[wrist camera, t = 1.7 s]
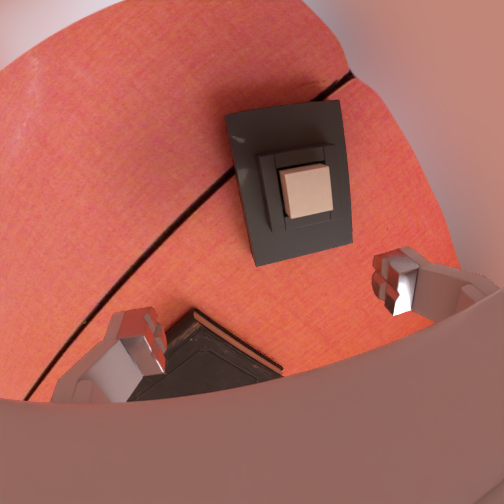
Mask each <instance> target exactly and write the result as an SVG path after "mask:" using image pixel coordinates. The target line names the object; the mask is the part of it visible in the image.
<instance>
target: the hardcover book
mask: <svg viewBox="0 0 504 504" xmlns="http://www.w3.org/2000/svg"><path fill="white" fill-rule="evenodd" d="M165 335H166V340H167V350H166V351H165V353H164V354H163V355H164V357H165V359H166V362H165V372H164V373H162V374H155V375H149V376H142V377H143V378H142V379H141V381H140V382H139V384H138V385H137V387H136V388H135V390H134V391H133V392H132V394H131V395H130V397H129V398H128V400H127V401H126V402H135V401H147V400H158V399H167V398H176V397H184V396H191V395H198V394H204V393H211V392H217V391H222V390H228V389H233V388H238V387H243V386H248V385H253V384H257V383H262V382H266V381H270V380H274V379H278V378H282V377H284V376H282V372H281V371H282V370H283V368H282V367H281V366H279V365H277V364H276V363H274V362H273V361H271V360H270V359H268V358H267V357H265V356H263V355H262V354H260V353H259V352H257V351H256V350H254V349H253V348H251V347H250V346H248V345H247V344H245V343H244V342H242V341H241V340H240V339H238V338H237V337H235V336H234V335H232V334H231V333H229V332H228V331H226V330H225V329H224V328H222V327H221V326H219V325H218V324H217V323H215V322H214V321H212V320H211V319H210V318H208V317H207V316H205V315H204V314H203V313H201V312H200V311H199V310H197V309H193V310H191V311H190V312H189V313H188V314H187V315H186V316H185V317H184V318H182V319H181V320H180V321H179V322H178V323H177V324H176V325H175V326H173V327H172V328H171V329H170V330H169V331H168V332H167V333H166V334H165Z"/></svg>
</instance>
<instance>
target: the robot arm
mask: <svg viewBox="0 0 504 504" xmlns="http://www.w3.org/2000/svg"><path fill="white" fill-rule="evenodd" d="M372 266H373V267H374V269H375V272H374V273H373V275H372V287H373V291H374V293H375V295H376V296H377V297H378V299H380V300H383V301H385V307H386V308H387V309H388V310H389V312H390V313H391V314H392V315H393V316H395V315H398V314H400V313H403V312H406V311H409V310H411V311H413V312H415V313H417V314H419V315H422V316H424V317H426V318H428V319H430V320H432V321H434V322H436V323H435V324H433V325H431V326H429V327H427V328H424V329H422V330H420V331H418V332H415V333H413V334H411V335H408V336H406V337H404V338H401V339H399V340H396V341H394V342H391V343H389V344H386V345H383V346H381V347H378V348H376V349H373V350H370V351H367V352H365V353H362V354H359V355H356V356H353V357H350V358H347V359H344V360H341V361H338V362H335V363H332V364H329V365H325V366H322V367H319V368H315V369H312V370H308V371H305V372H301V373H298V374H294V375H290V376H286V377H282V378H278V379H274V380H270V381H266V382H262V383H257V384H253V385H248V386H243V387H238V388H233V389H228V390H222V391H217V392H211V393H204V394H198V395H191V396H184V397H176V398H167V399H158V400H147V401H135V402H126V401H127V400H128V398H129V397H130V395H131V394H132V392H133V391H134V390H135V388H136V387H137V385H138V384H139V382H140V381H141V379H142V378H143V377H142V376H149V375H155V374H162V373H164V372H165V362H166V359H165V357H164V355H163V354H164V353H165V351H166V350H167V340H166V335H165V331H164V329H163V327H162V325H161V324H159V323H158V322H157V317H158V315H157V313H156V311H155V309H154V308H153V307H152V306H151V307H145V308H139V309H133V310H127V311H121V312H116V313H114V314H113V315H112V318H111V321H110V323H109V326H108V329H107V331H106V334H105V337H104V340H103V342H99V343H98V344H97V345H96V346H95V347H93V348H92V349H91V350H90V351H89V352H88V353H87V354H86V355H85V356H84V357H82V358H81V359H80V360H79V361H78V362H77V363H76V364H75V365H74V366H73V367H72V368H71V369H69V370H68V371H67V372H66V373H65V374H64V375H63V376H62V377H61V378H60V379H59V380H58V382H57V384H56V387H55V390H54V393H53V395H52V398H51V401H50V403H47V402H32V401H20V400H11V399H3V398H0V504H504V287H503V288H501V289H500V288H499V287H498V286H496V285H495V284H494V283H493V282H491V281H490V280H489V279H488V278H486V277H485V276H483V275H480V274H476V273H472V272H468V271H465V270H461V269H457V268H453V267H449V266H445V265H441V264H437V263H430V262H429V261H428V260H426V259H425V258H424V257H422V256H421V255H420V254H418V253H417V252H416V251H414V250H413V249H412V248H410V247H408V246H405V247H401V248H398V249H396V250H392V251H389V252H386V253H382V254H379V255H376V256H374V258H373V265H372Z"/></svg>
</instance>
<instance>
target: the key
mask: <svg viewBox="0 0 504 504" xmlns="http://www.w3.org/2000/svg"><path fill="white" fill-rule="evenodd" d="M279 174H280V180H281V187H282V193H283V199H284V206H285V212H286V213H287V214H288V216H289V217H290V218H291V219H293V218H297V217H302V216H306V215H311V214H316V213H320V212H325V211H330V210H333V203H332V192H331V182H330V173H329V167H328V166H326V165H323V164H321V163H319V164H313V165H307V166H301V167H296V168H290V169H285V170H279Z"/></svg>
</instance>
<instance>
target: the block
mask: <svg viewBox="0 0 504 504" xmlns="http://www.w3.org/2000/svg"><path fill="white" fill-rule="evenodd" d="M223 117H224V121H225V126H226V131H227V136H228V141H229V146H230V150H231V155H232V160H233V165H234V170H235V175H236V179H237V184H238V189H239V194H240V199H241V204H242V208H243V213H244V218H245V223H246V228H247V233H248V237H249V242H250V247H251V252H252V257H253V259H254V262H255V265H256V267H258V266H262V265H266V264H270V263H274V262H278V261H283V260H287V259H291V258H295V257H299V256H303V255H307V254H311V253H315V252H319V251H323V250H327V249H331V248H335V247H339V246H343V245H347V244H351V243H353V240H352V216H351V199H350V185H349V173H348V162H347V153H346V144H345V136H344V128H343V121H342V114H341V107H340V101H339V100H329V101H317V102H306V103H297V104H288V105H280V106H273V107H266V108H260V109H254V110H248V111H242V112H237V113H232V114H227V115H224V116H223ZM319 163H321V164H323V165H326V166H328V167H329V173H330V182H331V192H332V203H333V210H330V211H325V212H320V213H316V214H311V215H306V216H302V217H297V218H293V219H291V218H290V217H289V216H288V214H287V213H286V212H285V206H284V199H283V193H282V187H281V180H280V174H279V170H285V169H290V168H296V167H301V166H307V165H313V164H319Z"/></svg>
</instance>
